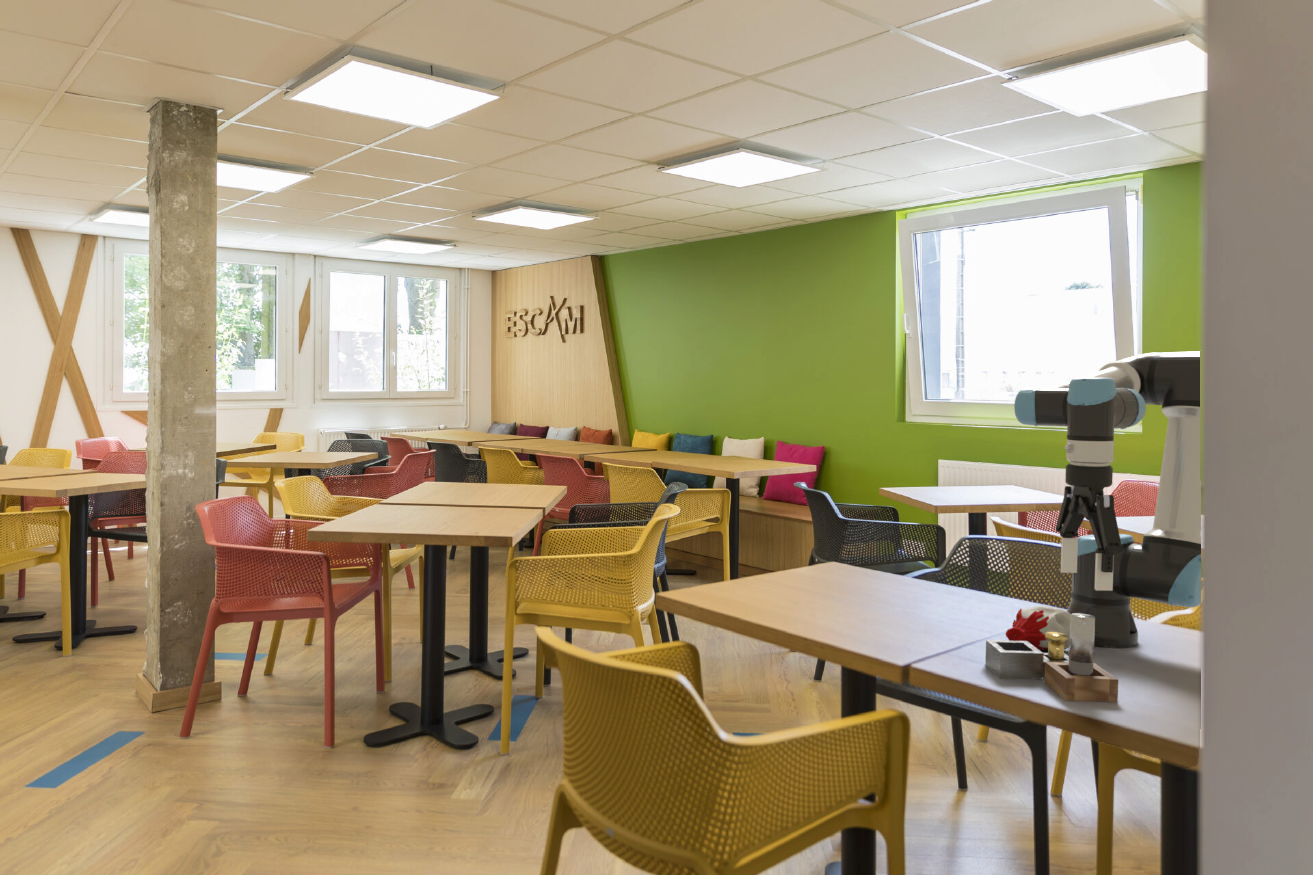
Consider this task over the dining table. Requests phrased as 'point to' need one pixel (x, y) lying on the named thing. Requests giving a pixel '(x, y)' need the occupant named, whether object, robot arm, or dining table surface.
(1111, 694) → the wooden box
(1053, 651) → the gold bolt
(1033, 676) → the socket
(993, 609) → the dining table surface
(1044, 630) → the white and red lump
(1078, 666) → the silver metal cylinder
